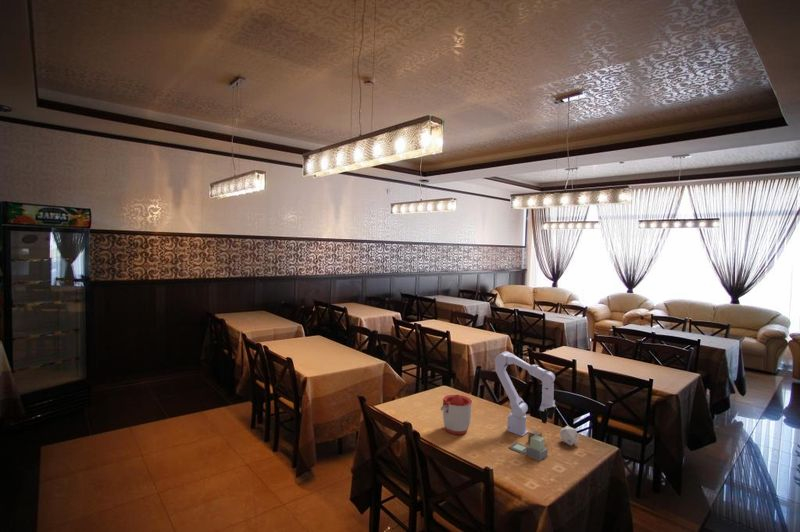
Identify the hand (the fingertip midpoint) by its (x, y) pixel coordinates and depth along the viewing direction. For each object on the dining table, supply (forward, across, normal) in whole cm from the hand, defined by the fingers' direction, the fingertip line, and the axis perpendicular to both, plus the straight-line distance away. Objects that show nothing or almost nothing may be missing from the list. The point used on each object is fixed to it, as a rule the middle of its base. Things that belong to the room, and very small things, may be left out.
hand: (547, 420), depth 207 cm
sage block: (+7, -19, -3) cm, 20 cm away
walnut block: (+10, -6, +4) cm, 13 cm away
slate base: (+11, -19, -3) cm, 22 cm away
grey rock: (+11, +6, -9) cm, 15 cm away
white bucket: (+10, -27, +40) cm, 49 cm away
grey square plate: (+10, -19, +6) cm, 22 cm away
